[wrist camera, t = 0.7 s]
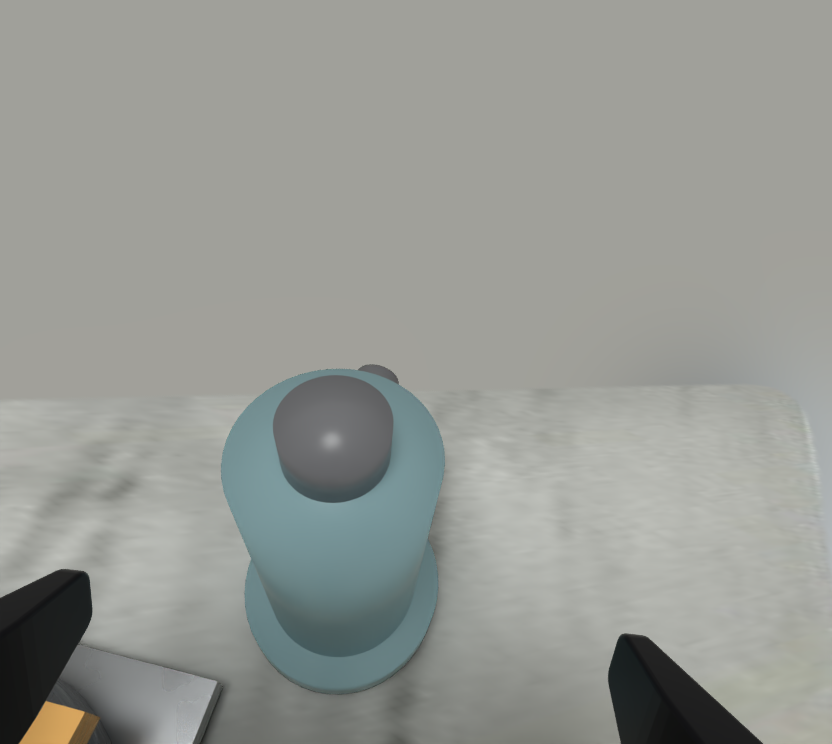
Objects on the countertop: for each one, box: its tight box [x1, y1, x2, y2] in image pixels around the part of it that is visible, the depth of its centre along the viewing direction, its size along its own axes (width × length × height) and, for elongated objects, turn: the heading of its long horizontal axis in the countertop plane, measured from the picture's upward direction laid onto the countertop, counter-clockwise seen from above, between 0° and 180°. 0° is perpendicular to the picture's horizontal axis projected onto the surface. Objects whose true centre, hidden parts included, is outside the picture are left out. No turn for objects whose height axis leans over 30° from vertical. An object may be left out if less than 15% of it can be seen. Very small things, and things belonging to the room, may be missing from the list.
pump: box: [221, 365, 445, 694], centre depth 18 cm, size 9×8×13 cm
